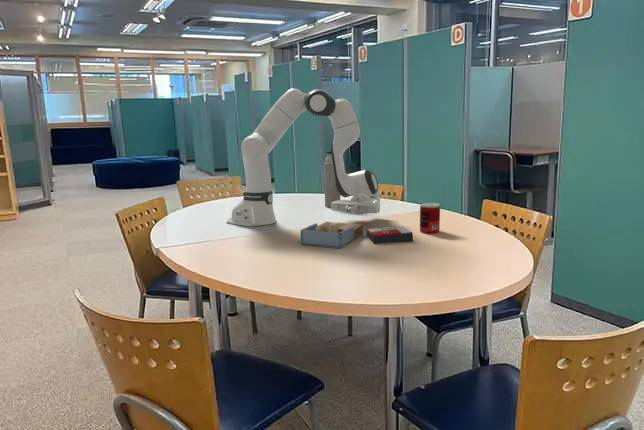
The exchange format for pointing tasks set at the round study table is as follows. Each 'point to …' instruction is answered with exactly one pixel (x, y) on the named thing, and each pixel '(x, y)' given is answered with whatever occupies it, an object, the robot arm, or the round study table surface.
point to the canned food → (429, 218)
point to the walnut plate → (356, 229)
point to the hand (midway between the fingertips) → (348, 210)
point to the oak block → (328, 227)
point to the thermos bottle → (329, 182)
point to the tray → (326, 237)
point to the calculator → (390, 235)
